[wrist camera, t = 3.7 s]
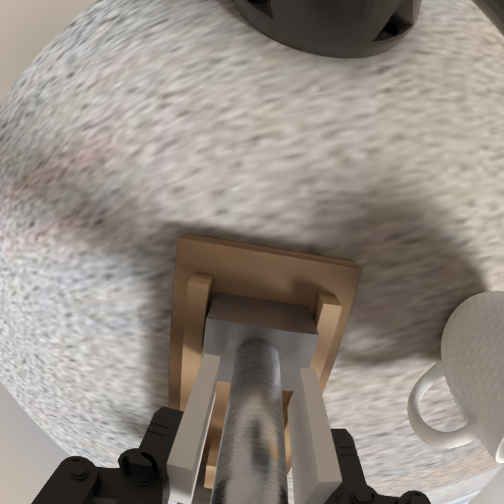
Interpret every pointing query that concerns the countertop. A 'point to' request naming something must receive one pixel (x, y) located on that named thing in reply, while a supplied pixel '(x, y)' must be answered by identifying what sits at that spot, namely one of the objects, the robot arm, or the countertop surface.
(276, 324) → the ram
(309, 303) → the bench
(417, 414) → the mug
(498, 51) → the countertop surface
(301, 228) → the countertop surface
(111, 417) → the countertop surface
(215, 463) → the small wooden cube
